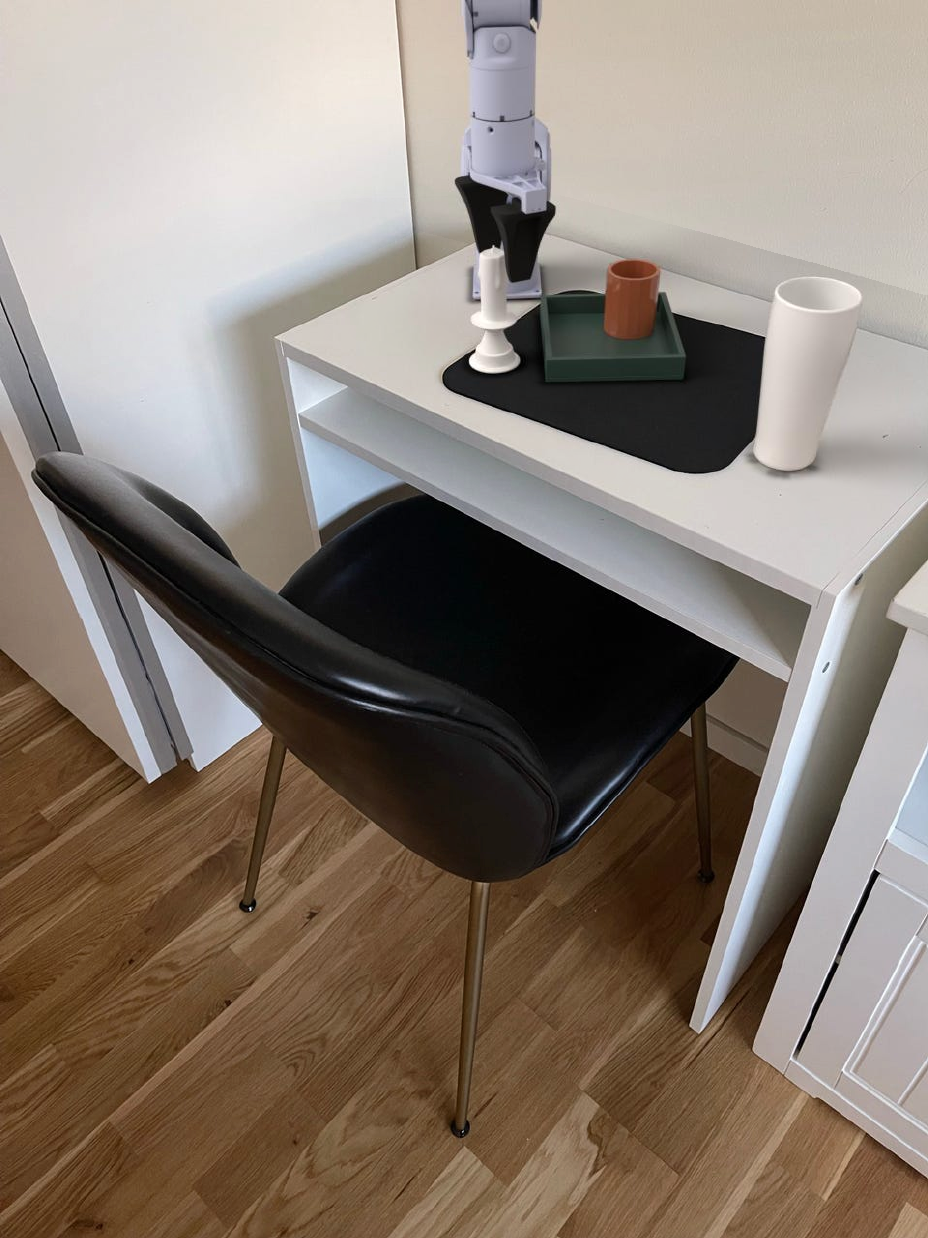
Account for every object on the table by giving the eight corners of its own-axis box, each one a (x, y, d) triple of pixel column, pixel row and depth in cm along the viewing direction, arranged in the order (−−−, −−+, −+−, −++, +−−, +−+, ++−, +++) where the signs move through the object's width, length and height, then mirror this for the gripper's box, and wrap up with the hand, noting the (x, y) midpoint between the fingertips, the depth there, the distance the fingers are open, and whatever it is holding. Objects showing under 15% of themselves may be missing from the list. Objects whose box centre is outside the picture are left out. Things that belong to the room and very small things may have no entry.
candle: (474, 348, 102) (471, 235, 94) (524, 351, 101) (524, 237, 93) (464, 372, 99) (459, 256, 90) (515, 375, 98) (515, 258, 90)
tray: (540, 316, 108) (540, 294, 106) (663, 313, 107) (665, 291, 105) (545, 382, 96) (546, 359, 95) (683, 379, 96) (686, 356, 94)
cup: (601, 317, 106) (605, 259, 101) (650, 316, 105) (656, 258, 101) (605, 340, 102) (609, 280, 97) (657, 339, 101) (663, 279, 97)
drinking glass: (737, 437, 88) (766, 276, 78) (812, 436, 87) (851, 274, 77) (751, 479, 83) (784, 312, 73) (831, 478, 82) (875, 310, 72)
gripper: (580, 127, 80) (574, 285, 89) (511, 88, 91) (511, 233, 100) (503, 139, 79) (504, 299, 88) (441, 98, 89) (448, 245, 98)
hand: (503, 265), depth 94 cm, fingers open, 7 cm apart
